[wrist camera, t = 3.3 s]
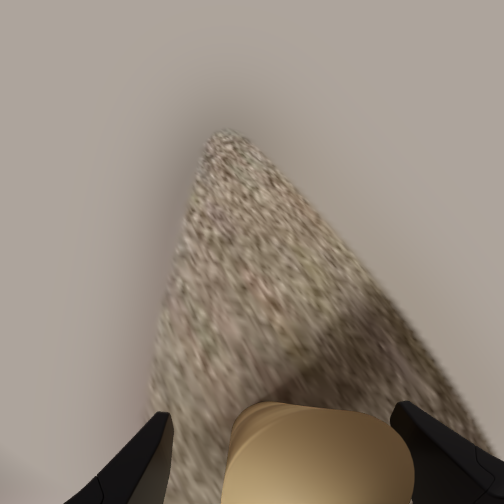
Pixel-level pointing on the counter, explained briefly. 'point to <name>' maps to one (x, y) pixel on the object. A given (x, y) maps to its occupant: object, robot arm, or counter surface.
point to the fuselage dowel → (315, 458)
